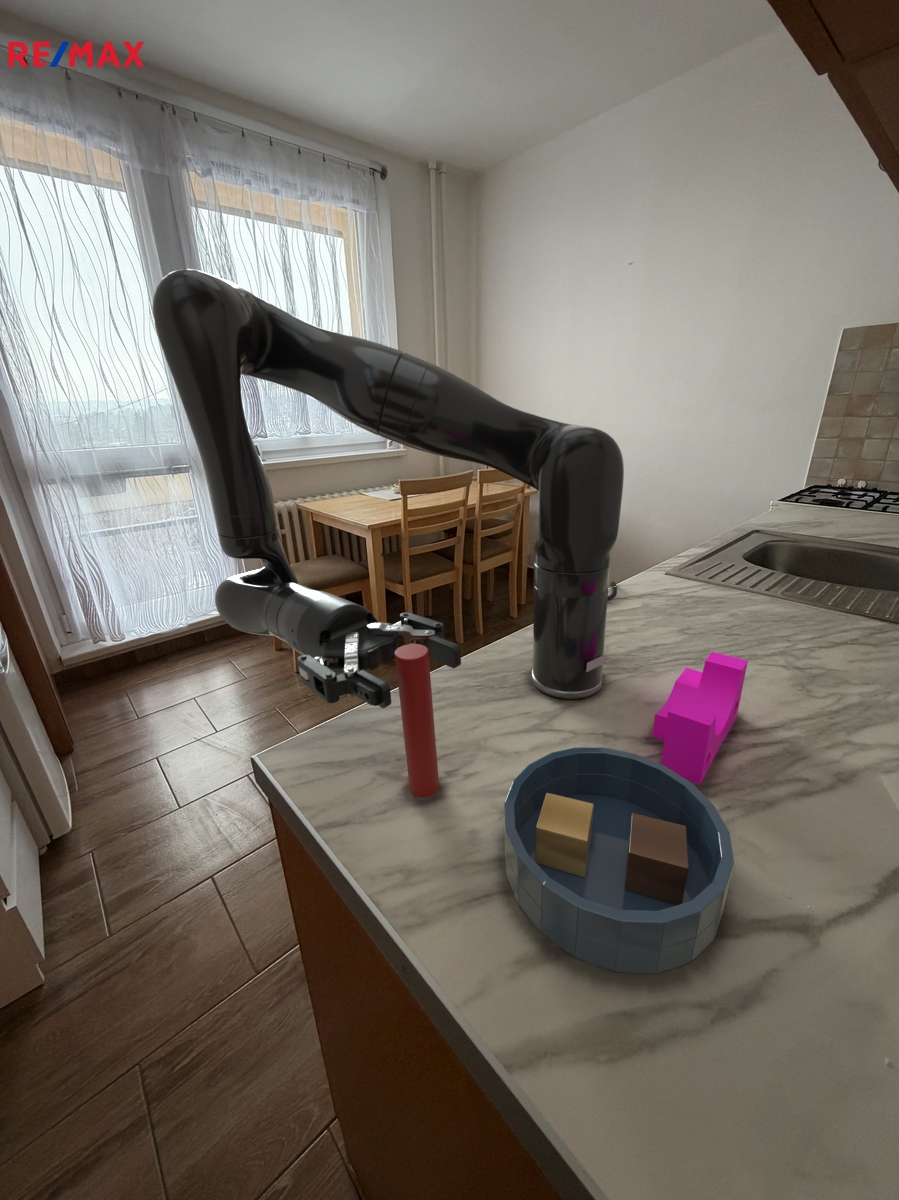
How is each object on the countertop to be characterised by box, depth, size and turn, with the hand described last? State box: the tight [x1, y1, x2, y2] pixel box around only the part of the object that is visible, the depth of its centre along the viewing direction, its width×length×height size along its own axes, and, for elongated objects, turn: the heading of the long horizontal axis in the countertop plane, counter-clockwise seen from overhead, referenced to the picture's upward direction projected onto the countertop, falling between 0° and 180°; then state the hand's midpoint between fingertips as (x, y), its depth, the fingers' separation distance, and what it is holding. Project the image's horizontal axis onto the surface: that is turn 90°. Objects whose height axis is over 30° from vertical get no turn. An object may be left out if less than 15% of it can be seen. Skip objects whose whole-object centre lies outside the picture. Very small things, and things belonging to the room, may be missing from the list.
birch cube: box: [536, 793, 594, 877], centre depth 40 cm, size 4×4×4 cm
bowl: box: [503, 747, 735, 975], centre depth 39 cm, size 17×17×6 cm
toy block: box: [652, 651, 749, 786], centre depth 53 cm, size 15×6×8 cm, turn 139°
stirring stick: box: [394, 643, 440, 798], centre depth 46 cm, size 3×3×16 cm
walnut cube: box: [625, 813, 688, 905], centre depth 38 cm, size 4×4×4 cm
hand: (425, 676), depth 43 cm, fingers open, 8 cm apart
